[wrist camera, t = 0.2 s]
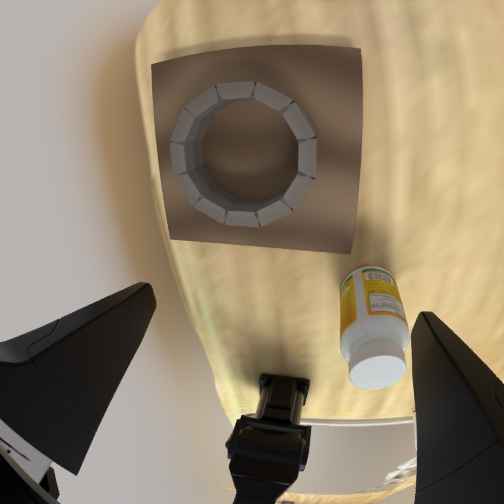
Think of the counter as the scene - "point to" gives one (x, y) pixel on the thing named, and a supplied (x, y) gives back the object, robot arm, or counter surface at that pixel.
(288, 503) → the candle holder
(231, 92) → the brown base with ring
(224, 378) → the counter surface
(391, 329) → the supplement bottle
